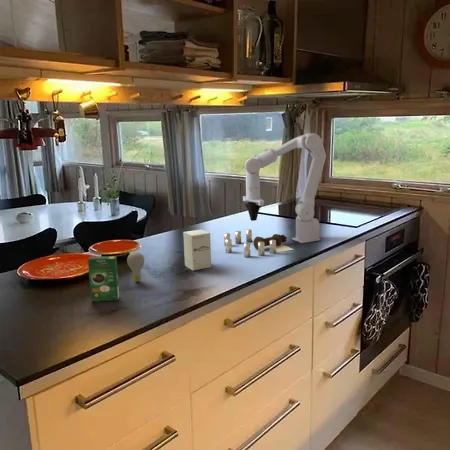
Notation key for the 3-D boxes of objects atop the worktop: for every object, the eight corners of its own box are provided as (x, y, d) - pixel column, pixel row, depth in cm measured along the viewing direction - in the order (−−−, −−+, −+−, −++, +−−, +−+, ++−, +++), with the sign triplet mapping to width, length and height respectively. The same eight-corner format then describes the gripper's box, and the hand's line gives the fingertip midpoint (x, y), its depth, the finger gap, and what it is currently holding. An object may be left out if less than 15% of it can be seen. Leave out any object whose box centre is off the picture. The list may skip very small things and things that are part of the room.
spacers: (250, 240, 195) (250, 229, 193) (277, 253, 175) (277, 240, 173) (214, 246, 188) (214, 234, 187) (238, 259, 168) (238, 246, 167)
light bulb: (131, 279, 151) (128, 250, 149) (147, 278, 151) (145, 249, 149) (127, 284, 146) (124, 254, 144) (144, 284, 146) (141, 254, 144)
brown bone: (285, 247, 188) (258, 253, 179) (278, 239, 191) (251, 245, 182) (291, 236, 185) (264, 242, 176) (283, 228, 188) (256, 234, 179)
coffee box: (120, 297, 136) (117, 254, 133) (119, 301, 133) (115, 257, 130) (93, 298, 135) (88, 256, 132) (91, 302, 132) (86, 259, 130)
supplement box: (192, 271, 157) (190, 235, 154) (184, 265, 164) (182, 231, 161) (212, 267, 160) (210, 232, 158) (203, 262, 167) (201, 228, 164)
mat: (268, 238, 197) (268, 238, 197) (294, 249, 179) (294, 249, 179) (254, 240, 194) (254, 240, 194) (278, 252, 176) (278, 252, 176)
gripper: (236, 186, 192) (237, 218, 195) (252, 190, 179) (253, 224, 182) (251, 185, 195) (251, 216, 197) (268, 189, 182) (268, 222, 185)
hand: (253, 220), depth 190 cm, fingers closed
